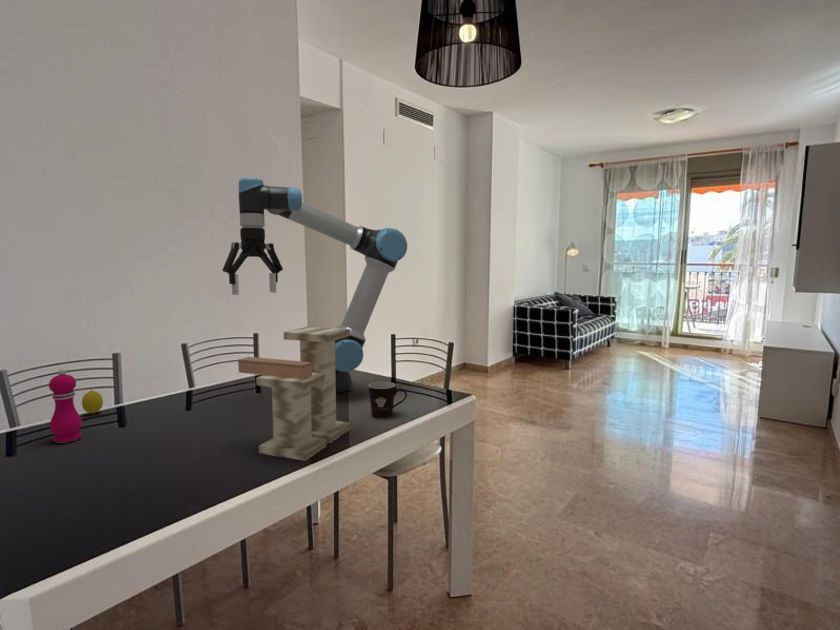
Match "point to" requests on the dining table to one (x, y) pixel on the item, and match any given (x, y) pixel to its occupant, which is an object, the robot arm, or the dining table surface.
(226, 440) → the dining table surface
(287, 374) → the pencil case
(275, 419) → the two-tier stand
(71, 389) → the pepper mill
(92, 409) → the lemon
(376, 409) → the coffee mug
